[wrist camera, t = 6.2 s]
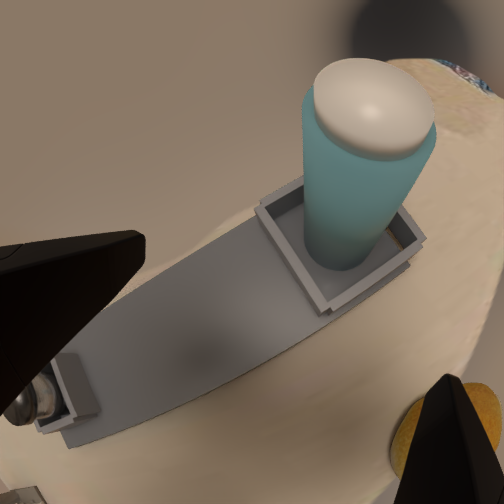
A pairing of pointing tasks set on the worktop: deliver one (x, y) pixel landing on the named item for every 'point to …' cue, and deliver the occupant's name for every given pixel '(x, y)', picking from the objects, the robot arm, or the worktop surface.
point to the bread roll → (483, 404)
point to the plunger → (37, 401)
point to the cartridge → (360, 155)
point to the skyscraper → (22, 496)
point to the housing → (213, 319)
